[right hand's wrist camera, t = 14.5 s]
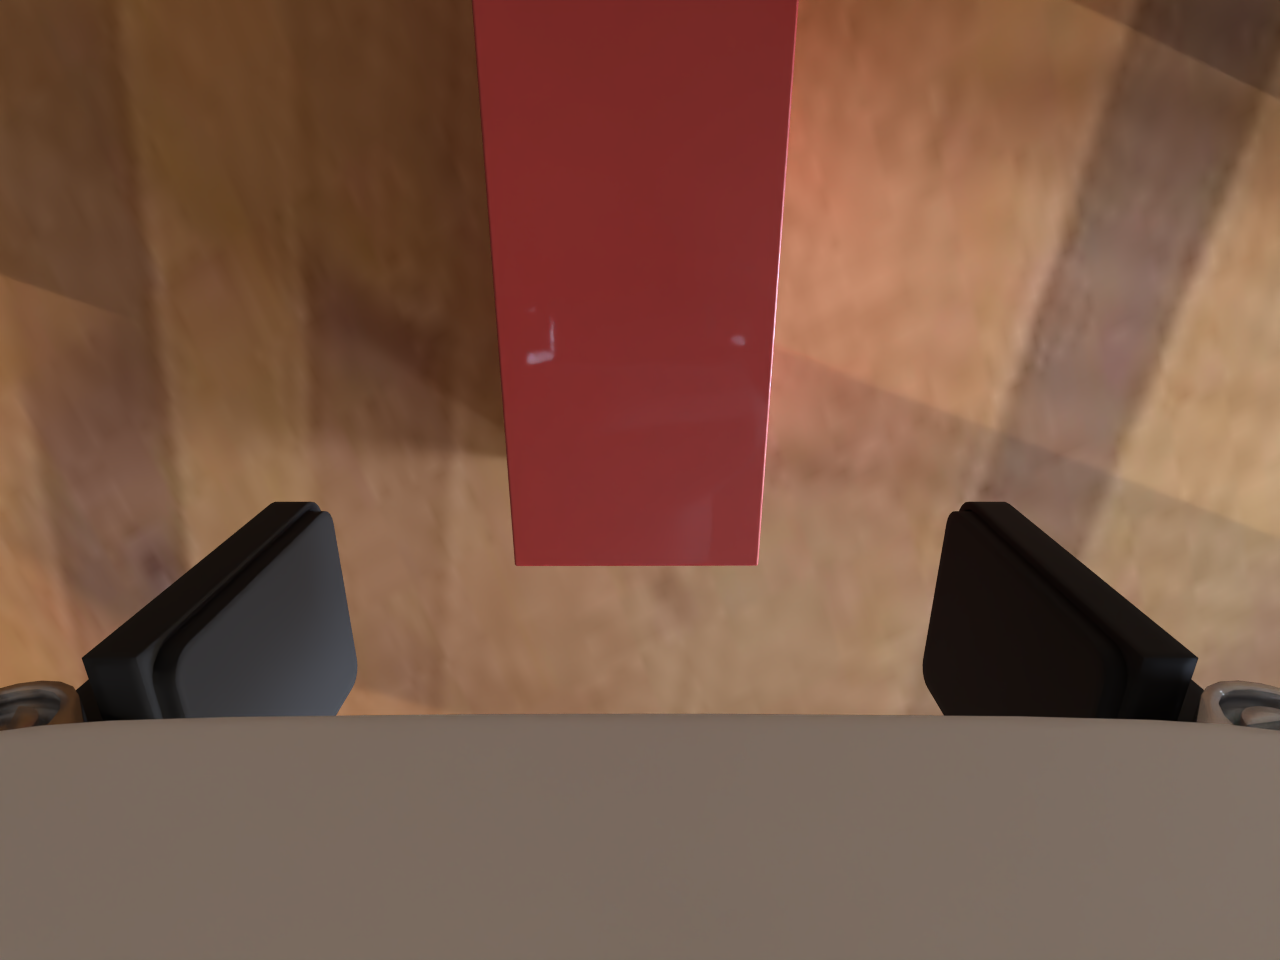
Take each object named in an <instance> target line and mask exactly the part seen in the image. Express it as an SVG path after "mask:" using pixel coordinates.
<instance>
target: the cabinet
mask: <svg viewBox="0 0 1280 960" xmlns="http://www.w3.org/2000/svg"><path fill="white" fill-rule="evenodd" d="M798 2H799V0H472V10H473V23H474V36H475V49H476V62H477V75H478V88H479V101H480V114H481V127H482V140H483V153H484V166H485V179H486V192H487V205H488V218H489V231H490V244H491V258H492V271H493V284H494V297H495V310H496V323H497V336H498V349H499V362H500V375H501V388H502V401H503V414H504V427H505V440H506V453H507V466H508V479H509V492H510V505H511V519H512V532H513V545H514V558H515V565H516V566H726V565H758V558H759V544H760V530H761V516H762V502H763V488H764V474H765V461H766V447H767V433H768V419H769V405H770V391H771V377H772V363H773V349H774V336H775V322H776V308H777V294H778V280H779V266H780V252H781V238H782V224H783V211H784V197H785V183H786V169H787V155H788V141H789V127H790V113H791V99H792V85H793V72H794V58H795V44H796V30H797V16H798Z"/></svg>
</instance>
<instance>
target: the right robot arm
mask: <svg viewBox="0 0 1280 960" xmlns="http://www.w3.org/2000/svg"><path fill="white" fill-rule="evenodd" d="M82 660H83V663H84V666H85V669H86V672H87V675H88V678H89V680H87V681H86V682H85V683H84V684H83V685H82V686H81V687H79V688H78V689H77V690H75V689H74V687H73V686H70V685H68V684H65V683H63V682H57V681H35V682H26V683H18V684H14V685H11V686H7V687H3V688H0V960H1280V688H1277V687H1273V686H1269V685H1266V684H1262V683H1254V682H1245V681H1223V682H1217V683H1215V684H1212V685H1210V686H1207V687H1206V689H1205V690H1203V689H1202V688H1201V687H1199V686H1198V685H1197V684H1196V683H1195V682H1194V681H1193V680H1191V678H1192V675H1193V672H1194V669H1195V666H1196V663H1197V660H1198V657H1196V656H1195V655H1194V654H1193V653H1192V652H1190V651H1189V650H1188V649H1187V648H1185V647H1184V646H1183V645H1182V644H1181V643H1179V642H1178V641H1177V640H1176V639H1174V638H1173V637H1172V636H1171V635H1169V634H1168V633H1167V632H1166V631H1165V630H1163V629H1162V628H1161V627H1160V626H1158V625H1157V624H1156V623H1155V622H1154V621H1152V620H1151V619H1150V618H1149V617H1147V616H1146V615H1145V614H1144V613H1142V612H1141V611H1140V610H1139V609H1138V608H1136V607H1135V606H1134V605H1133V604H1131V603H1130V602H1129V601H1128V600H1127V599H1125V598H1124V597H1123V596H1122V595H1120V594H1119V593H1118V592H1117V591H1116V590H1114V589H1113V588H1112V587H1111V586H1109V585H1108V584H1107V583H1106V582H1104V581H1103V580H1102V579H1101V578H1100V577H1098V576H1097V575H1096V574H1095V573H1093V572H1092V571H1091V570H1090V569H1089V568H1087V567H1086V566H1085V565H1084V564H1082V563H1081V562H1080V561H1079V560H1077V559H1076V558H1075V557H1074V556H1073V555H1071V554H1070V553H1069V552H1068V551H1066V550H1065V549H1064V548H1063V547H1062V546H1060V545H1059V544H1058V543H1057V542H1055V541H1054V540H1053V539H1052V538H1050V537H1049V536H1048V535H1047V534H1046V533H1044V532H1043V531H1042V530H1041V529H1039V528H1038V527H1037V526H1036V525H1035V524H1033V523H1032V522H1031V521H1030V520H1028V519H1027V518H1026V517H1025V516H1024V515H1022V514H1021V513H1020V512H1019V511H1017V510H1016V509H1015V508H1014V507H1012V506H1011V505H1010V504H1008V503H1006V502H965V503H964V504H963V505H962V506H961V508H960V510H959V511H954V512H952V513H951V514H950V515H949V517H948V520H947V524H946V530H945V535H944V541H943V547H942V553H941V559H940V565H939V570H938V576H937V582H936V588H935V594H934V600H933V605H932V611H931V617H930V623H929V629H928V635H927V640H926V646H925V652H924V658H923V675H924V680H925V683H926V685H927V687H928V689H929V691H930V693H931V694H932V696H933V698H934V699H935V701H936V703H937V704H938V706H939V708H940V709H941V711H942V713H943V714H944V716H916V715H798V714H458V715H364V716H336V714H337V713H338V711H339V709H340V708H341V706H342V704H343V703H344V701H345V699H346V698H347V696H348V694H349V693H350V691H351V689H352V687H353V685H354V683H355V680H356V675H357V658H356V652H355V646H354V640H353V635H352V629H351V623H350V617H349V611H348V605H347V600H346V594H345V588H344V582H343V576H342V570H341V565H340V559H339V553H338V547H337V541H336V535H335V530H334V524H333V520H332V517H331V515H330V514H329V513H328V512H326V511H321V510H320V508H319V506H318V505H317V504H316V503H315V502H274V503H272V504H270V505H269V506H268V507H266V508H265V509H264V510H263V511H261V512H260V513H259V514H258V515H256V516H255V517H254V518H253V519H252V520H250V521H249V522H248V523H247V524H245V525H244V526H243V527H242V528H241V529H239V530H238V531H237V532H236V533H234V534H233V535H232V536H231V537H230V538H228V539H227V540H226V541H225V542H223V543H222V544H221V545H220V546H218V547H217V548H216V549H215V550H214V551H212V552H211V553H210V554H209V555H207V556H206V557H205V558H204V559H203V560H201V561H200V562H199V563H198V564H196V565H195V566H194V567H193V568H191V569H190V570H189V571H188V572H187V573H185V574H184V575H183V576H182V577H180V578H179V579H178V580H177V581H176V582H174V583H173V584H172V585H171V586H169V587H168V588H167V589H166V590H164V591H163V592H162V593H161V594H160V595H158V596H157V597H156V598H155V599H153V600H152V601H151V602H150V603H149V604H147V605H146V606H145V607H144V608H142V609H141V610H140V611H139V612H138V613H136V614H135V615H134V616H133V617H131V618H130V619H129V620H128V621H126V622H125V623H124V624H123V625H122V626H120V627H119V628H118V629H117V630H115V631H114V632H113V633H112V634H111V635H109V636H108V637H107V638H106V639H104V640H103V641H102V642H101V643H99V644H98V645H97V646H96V647H95V648H93V649H92V650H91V651H90V652H88V653H87V654H86V655H85V656H84V657H82Z"/></svg>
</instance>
